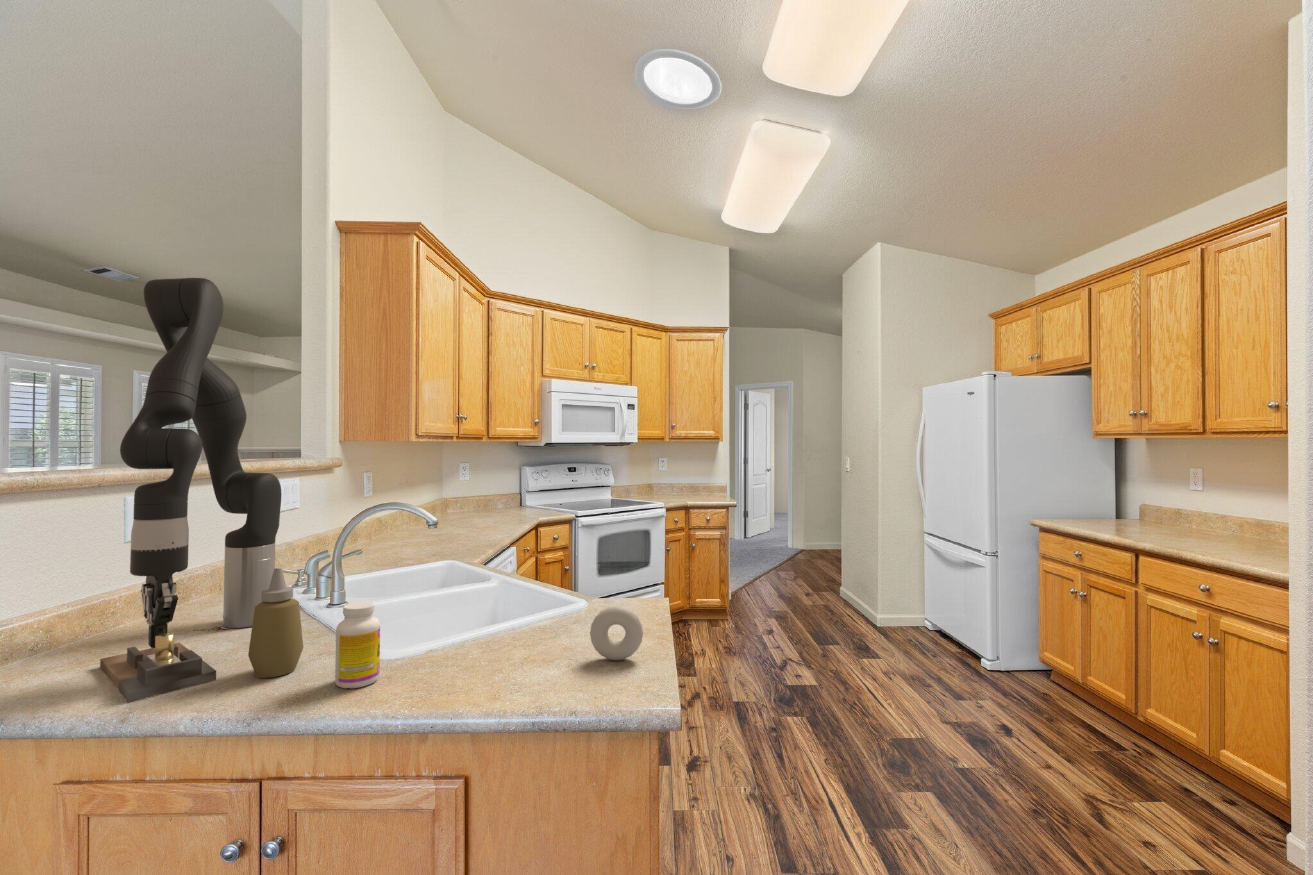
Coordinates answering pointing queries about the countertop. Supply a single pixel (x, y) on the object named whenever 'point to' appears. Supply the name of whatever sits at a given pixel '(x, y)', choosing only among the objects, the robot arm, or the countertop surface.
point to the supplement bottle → (357, 646)
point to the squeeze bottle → (276, 630)
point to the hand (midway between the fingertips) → (157, 645)
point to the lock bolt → (164, 650)
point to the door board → (155, 672)
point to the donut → (618, 648)
